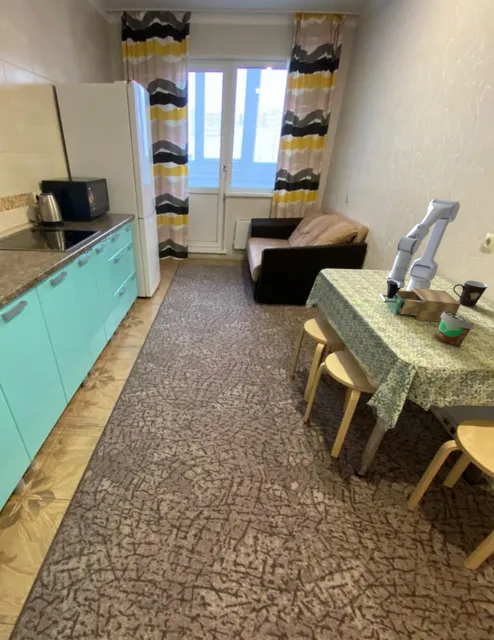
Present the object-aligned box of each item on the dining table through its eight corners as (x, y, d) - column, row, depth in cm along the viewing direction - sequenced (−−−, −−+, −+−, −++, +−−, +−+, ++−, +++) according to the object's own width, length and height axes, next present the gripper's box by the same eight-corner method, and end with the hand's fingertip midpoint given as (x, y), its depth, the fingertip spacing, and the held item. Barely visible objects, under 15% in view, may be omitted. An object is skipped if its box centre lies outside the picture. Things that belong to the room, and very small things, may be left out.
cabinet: (417, 319, 138) (425, 300, 134) (405, 305, 151) (412, 287, 146) (451, 322, 137) (460, 303, 132) (437, 308, 149) (445, 290, 145)
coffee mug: (478, 304, 156) (489, 284, 151) (475, 309, 150) (486, 288, 145) (450, 297, 162) (459, 277, 157) (446, 301, 157) (456, 281, 152)
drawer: (382, 313, 140) (387, 298, 137) (374, 301, 151) (379, 287, 148) (425, 317, 138) (432, 302, 134) (414, 305, 149) (420, 291, 146)
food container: (424, 332, 129) (435, 308, 123) (439, 332, 129) (450, 308, 124) (446, 348, 118) (459, 323, 113) (462, 348, 119) (475, 323, 113)
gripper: (385, 261, 142) (375, 291, 150) (396, 271, 130) (384, 303, 137) (402, 263, 142) (391, 292, 149) (414, 273, 129) (402, 305, 136)
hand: (389, 298), depth 143 cm, fingers closed
